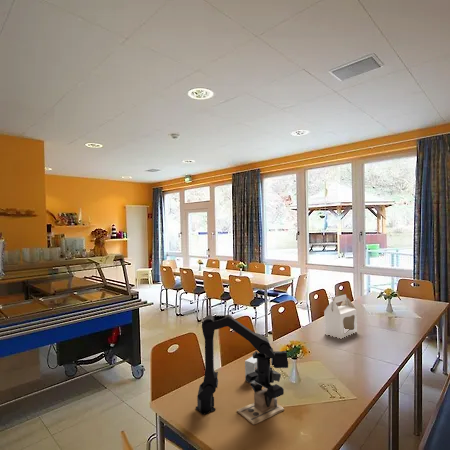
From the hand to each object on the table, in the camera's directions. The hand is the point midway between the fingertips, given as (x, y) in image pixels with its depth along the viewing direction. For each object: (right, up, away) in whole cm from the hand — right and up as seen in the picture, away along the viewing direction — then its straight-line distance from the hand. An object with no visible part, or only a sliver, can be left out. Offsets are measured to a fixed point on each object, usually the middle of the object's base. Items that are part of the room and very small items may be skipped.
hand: (264, 404), depth 133 cm
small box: (-2, -3, +27) cm, 27 cm away
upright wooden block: (0, -1, 0) cm, 1 cm away
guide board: (-2, -2, -1) cm, 3 cm away
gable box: (+69, -3, +95) cm, 117 cm away
